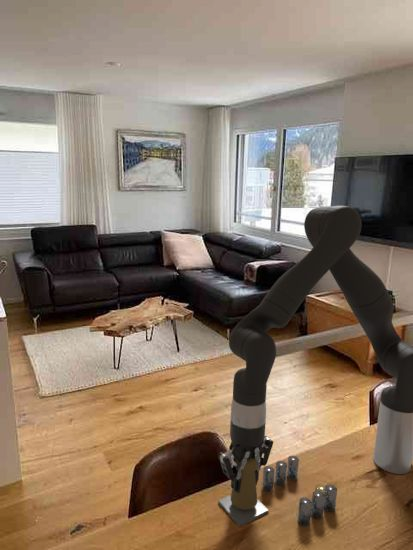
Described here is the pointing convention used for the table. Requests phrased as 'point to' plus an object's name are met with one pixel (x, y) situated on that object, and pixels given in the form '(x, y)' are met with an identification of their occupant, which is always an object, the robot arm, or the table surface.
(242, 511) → the coaster
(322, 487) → the glossy gold bead
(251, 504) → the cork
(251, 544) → the table surface
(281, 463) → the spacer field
